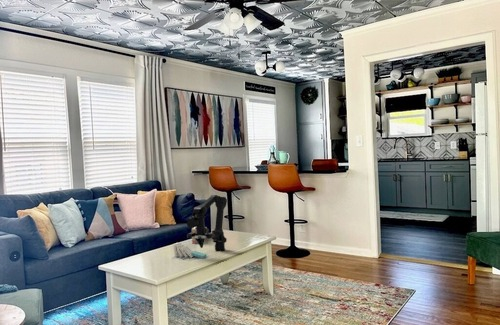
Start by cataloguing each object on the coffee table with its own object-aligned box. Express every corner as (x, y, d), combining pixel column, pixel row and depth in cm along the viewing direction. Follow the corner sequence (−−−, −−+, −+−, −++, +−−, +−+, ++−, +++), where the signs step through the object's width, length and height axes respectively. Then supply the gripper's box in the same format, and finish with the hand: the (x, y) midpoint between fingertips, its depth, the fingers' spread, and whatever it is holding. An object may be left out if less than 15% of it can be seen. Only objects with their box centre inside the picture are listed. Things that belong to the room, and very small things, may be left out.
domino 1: (180, 255, 272) (179, 242, 272) (176, 257, 268) (175, 244, 268) (178, 255, 273) (177, 242, 273) (174, 257, 268) (173, 244, 268)
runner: (211, 256, 266) (211, 255, 266) (204, 260, 257) (204, 259, 257) (179, 254, 276) (179, 254, 276) (171, 258, 267) (171, 258, 267)
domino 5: (206, 254, 265) (195, 250, 268) (202, 256, 260) (191, 252, 263) (205, 256, 265) (194, 252, 268) (202, 258, 260) (191, 254, 264)
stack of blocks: (200, 237, 328) (200, 223, 328) (207, 237, 327) (207, 223, 327) (192, 244, 308) (191, 228, 307) (199, 243, 306) (198, 228, 306)
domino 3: (191, 254, 269) (183, 244, 271) (187, 256, 265) (179, 245, 266) (189, 255, 270) (182, 245, 272) (185, 257, 265) (178, 247, 267)
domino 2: (185, 254, 271) (181, 242, 272) (182, 256, 266) (177, 244, 267) (184, 255, 271) (179, 243, 272) (180, 257, 267) (175, 245, 268)
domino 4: (196, 254, 268) (187, 245, 270) (192, 256, 263) (183, 247, 265) (195, 255, 268) (186, 247, 271) (191, 257, 263) (182, 249, 266)
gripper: (217, 223, 267) (219, 245, 267) (194, 222, 274) (195, 244, 274) (210, 226, 256) (211, 249, 257) (186, 226, 263) (187, 248, 264)
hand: (201, 247), depth 263 cm, fingers closed
